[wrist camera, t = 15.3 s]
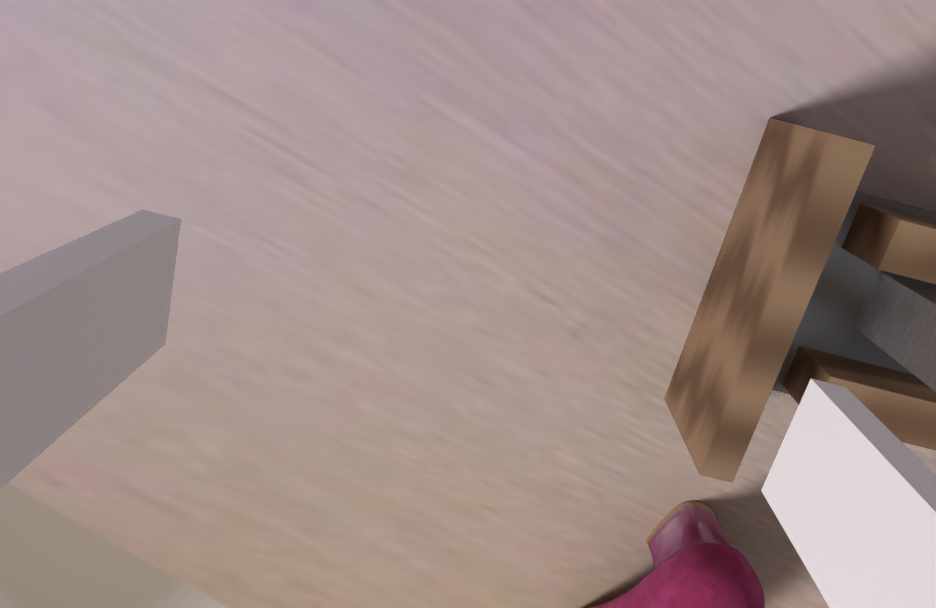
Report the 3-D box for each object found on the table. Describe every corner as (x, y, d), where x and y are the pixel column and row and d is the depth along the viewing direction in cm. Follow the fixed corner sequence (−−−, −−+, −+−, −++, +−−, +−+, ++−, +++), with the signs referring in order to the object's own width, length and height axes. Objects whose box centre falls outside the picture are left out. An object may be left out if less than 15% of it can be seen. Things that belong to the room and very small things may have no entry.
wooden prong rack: (769, 117, 47) (837, 135, 37) (1041, 190, 48) (1175, 225, 38) (664, 398, 53) (699, 474, 44) (905, 458, 54) (990, 546, 45)
